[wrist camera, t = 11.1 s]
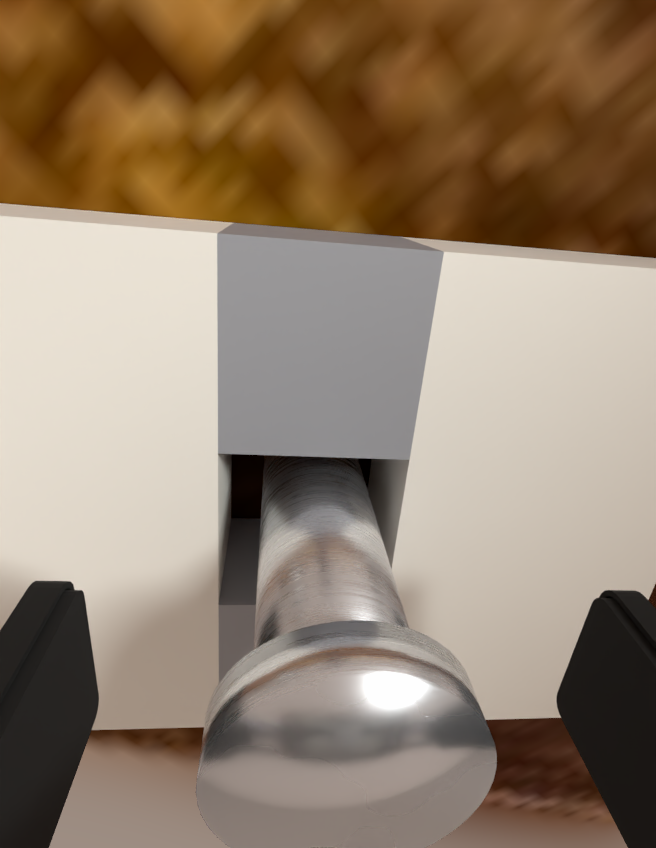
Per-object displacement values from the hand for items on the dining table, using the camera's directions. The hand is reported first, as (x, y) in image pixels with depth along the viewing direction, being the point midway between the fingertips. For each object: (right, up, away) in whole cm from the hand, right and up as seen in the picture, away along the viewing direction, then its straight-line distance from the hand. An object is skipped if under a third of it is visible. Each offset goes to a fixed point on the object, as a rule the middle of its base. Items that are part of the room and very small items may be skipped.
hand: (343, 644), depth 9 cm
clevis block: (-1, +3, +7) cm, 8 cm away
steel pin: (-1, +3, +7) cm, 8 cm away
